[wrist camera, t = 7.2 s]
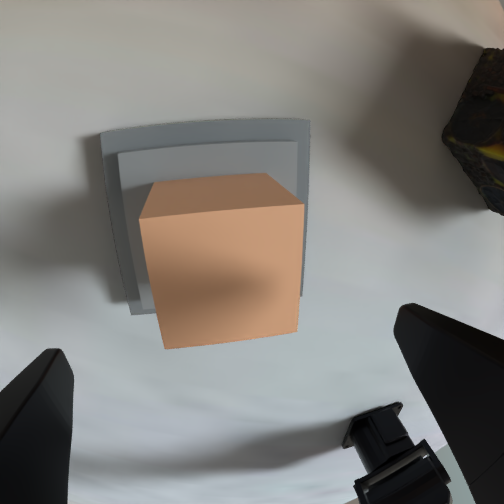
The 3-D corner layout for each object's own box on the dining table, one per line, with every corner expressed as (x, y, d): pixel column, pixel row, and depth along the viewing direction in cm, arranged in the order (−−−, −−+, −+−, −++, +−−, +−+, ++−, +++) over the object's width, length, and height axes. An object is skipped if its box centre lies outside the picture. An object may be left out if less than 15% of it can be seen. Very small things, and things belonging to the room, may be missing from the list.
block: (266, 270, 16) (297, 331, 12) (167, 281, 15) (165, 349, 11) (265, 172, 14) (304, 203, 10) (154, 182, 13) (138, 219, 9)
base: (294, 283, 20) (307, 305, 18) (134, 300, 18) (129, 325, 16) (300, 118, 16) (318, 120, 14) (107, 131, 14) (94, 134, 12)
